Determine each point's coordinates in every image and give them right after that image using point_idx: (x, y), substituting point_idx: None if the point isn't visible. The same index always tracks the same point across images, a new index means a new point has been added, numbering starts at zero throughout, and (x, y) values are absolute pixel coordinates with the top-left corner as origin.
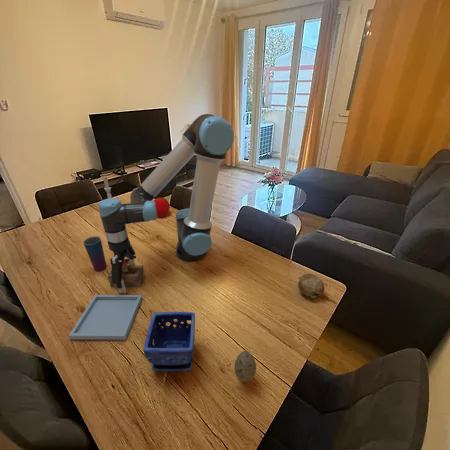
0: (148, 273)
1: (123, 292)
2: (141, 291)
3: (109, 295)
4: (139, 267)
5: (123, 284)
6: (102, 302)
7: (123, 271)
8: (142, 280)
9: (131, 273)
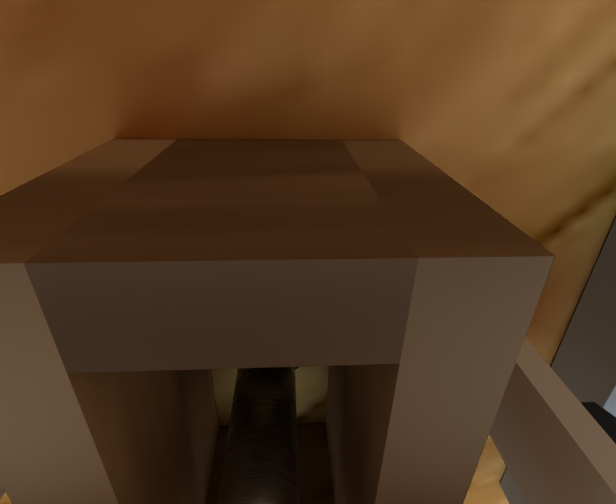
0: (15, 92)
1: None
2: (501, 84)
3: None
4: (50, 336)
5: (588, 421)
6: None
7: (185, 499)
8: (251, 144)
9: (176, 374)
